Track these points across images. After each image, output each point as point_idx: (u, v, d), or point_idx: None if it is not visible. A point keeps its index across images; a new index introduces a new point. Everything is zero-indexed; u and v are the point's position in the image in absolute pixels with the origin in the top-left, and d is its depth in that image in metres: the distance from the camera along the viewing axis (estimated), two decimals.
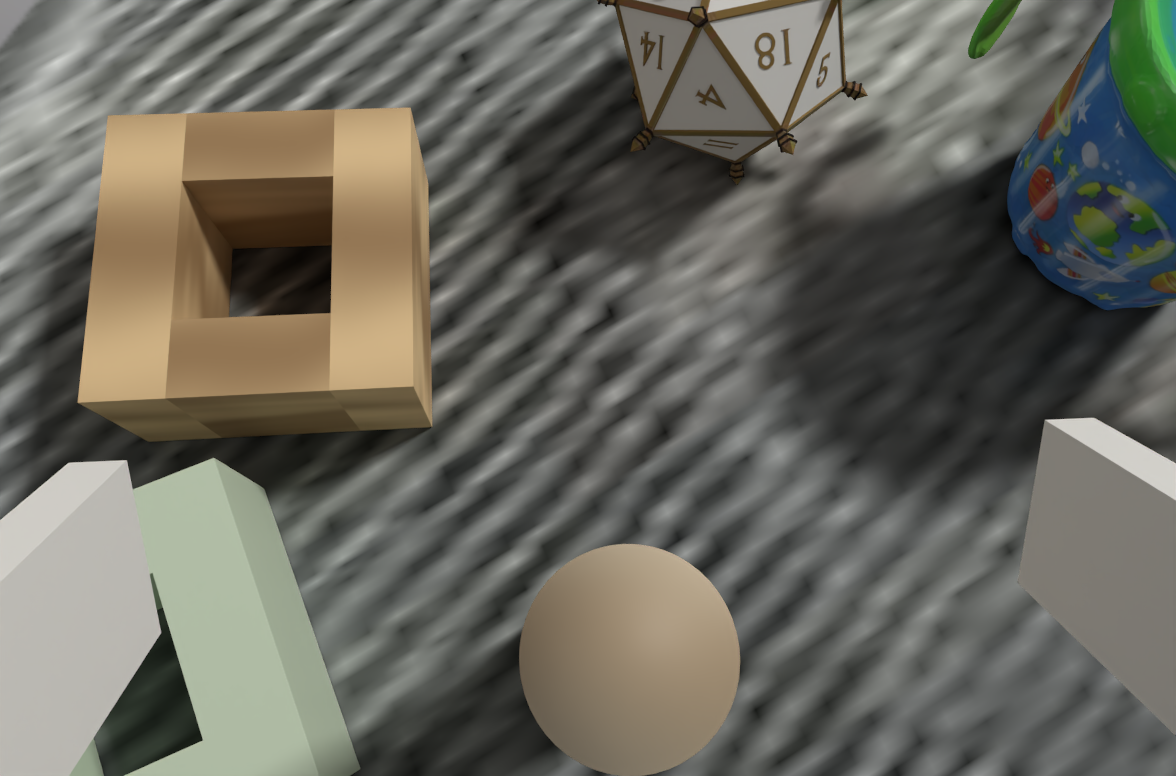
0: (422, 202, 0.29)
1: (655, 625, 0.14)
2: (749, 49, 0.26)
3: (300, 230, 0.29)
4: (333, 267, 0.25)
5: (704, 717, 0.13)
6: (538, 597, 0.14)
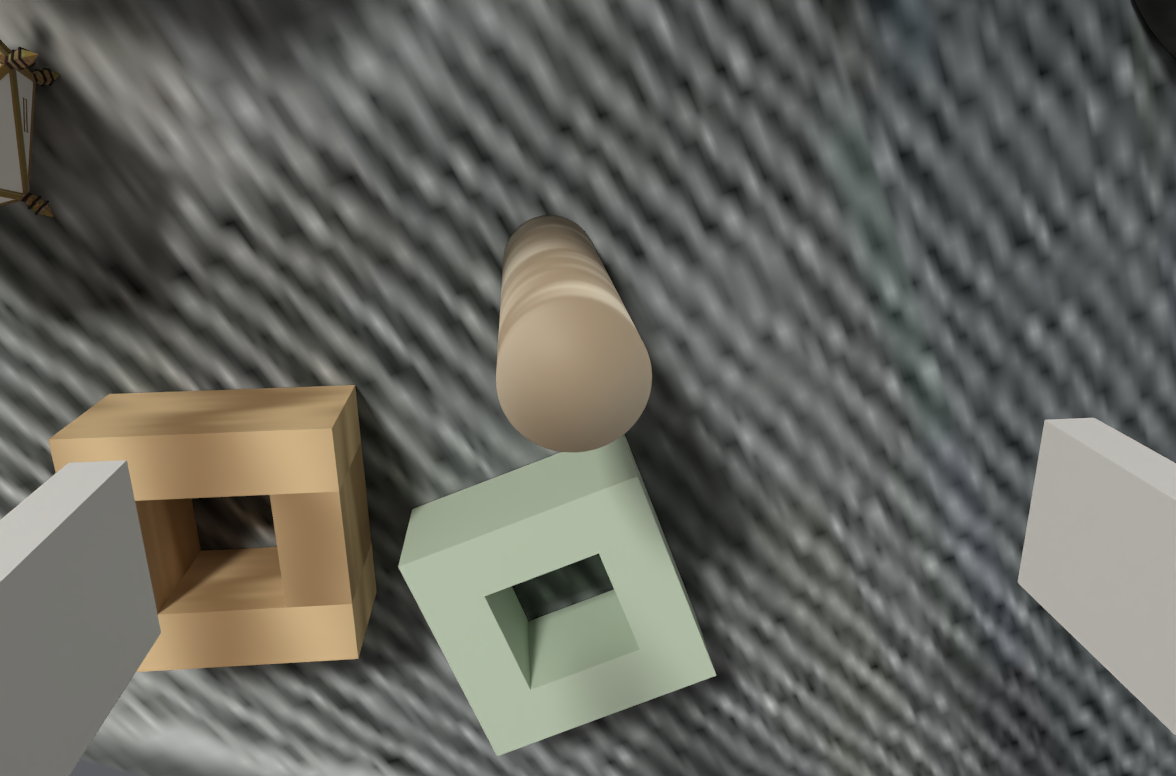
0: (138, 408, 0.31)
1: (555, 362, 0.19)
2: None
3: (179, 505, 0.33)
4: (226, 495, 0.29)
5: (618, 332, 0.19)
6: (532, 439, 0.19)
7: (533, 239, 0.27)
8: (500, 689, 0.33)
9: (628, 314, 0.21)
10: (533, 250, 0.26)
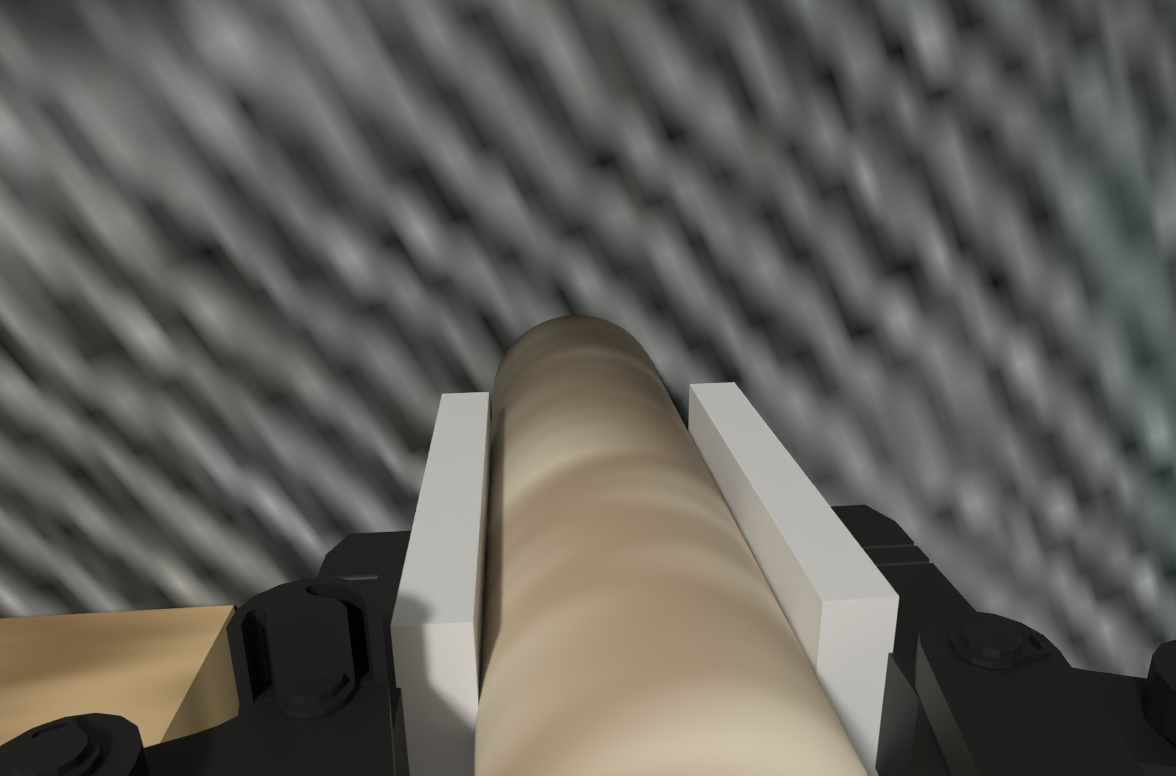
0: None
1: None
2: None
3: None
4: None
5: None
6: None
7: (553, 398, 0.13)
8: None
9: None
10: (557, 448, 0.11)
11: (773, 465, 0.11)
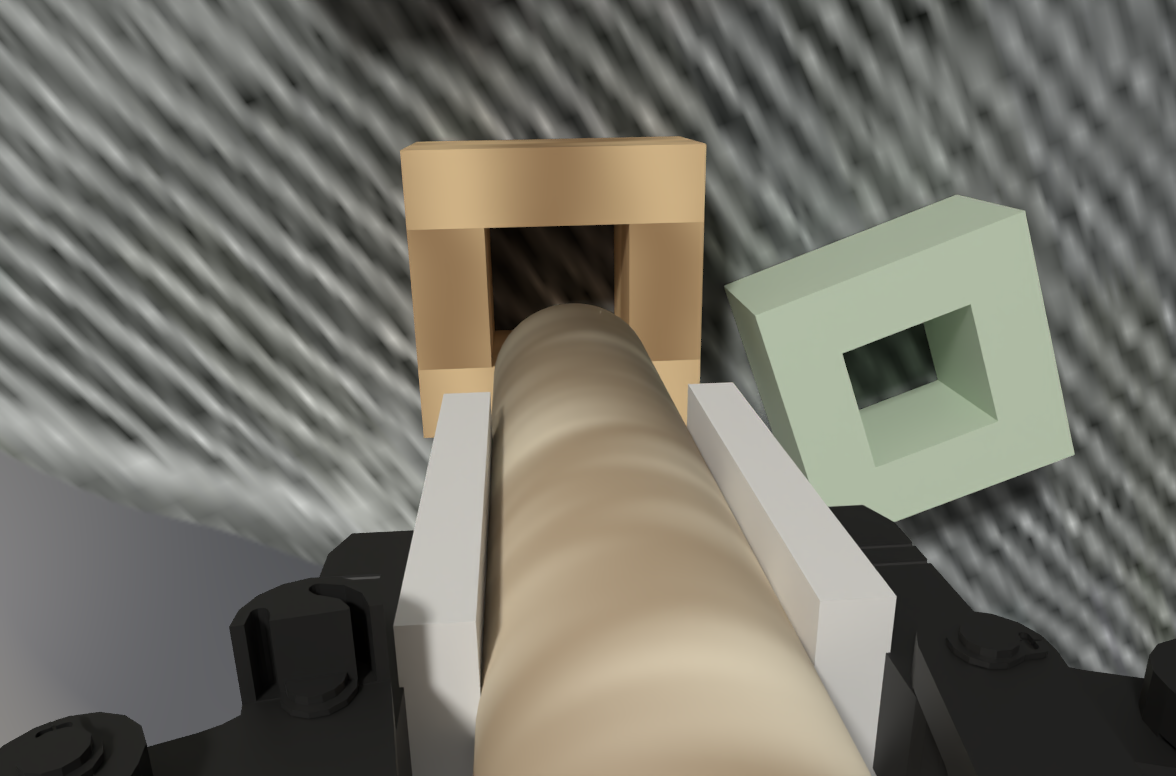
0: (465, 143, 0.28)
1: None
2: None
3: (490, 266, 0.30)
4: (583, 223, 0.26)
5: None
6: None
7: (550, 378, 0.14)
8: (843, 465, 0.30)
9: (830, 699, 0.08)
10: (554, 421, 0.12)
11: (771, 465, 0.11)
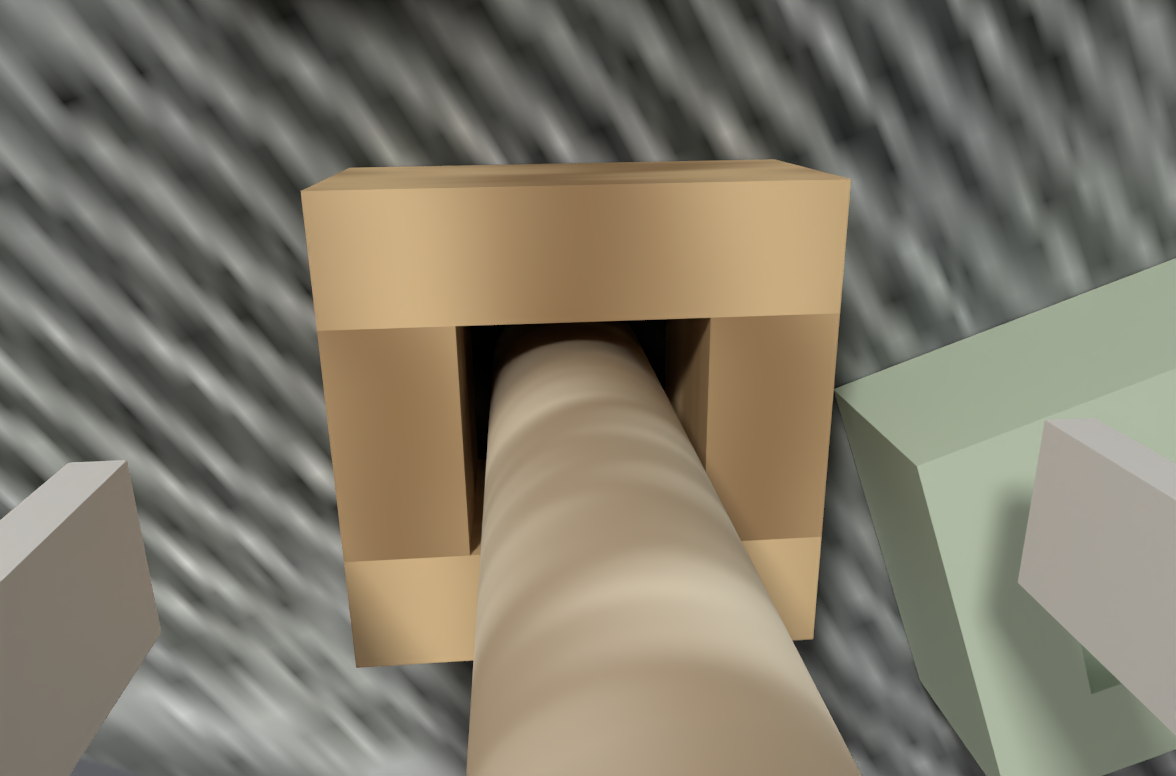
0: (427, 173, 0.17)
1: None
2: None
3: (469, 369, 0.19)
4: (630, 317, 0.15)
5: None
6: None
7: (545, 359, 0.15)
8: (1041, 693, 0.18)
9: (785, 628, 0.09)
10: (547, 396, 0.13)
11: None
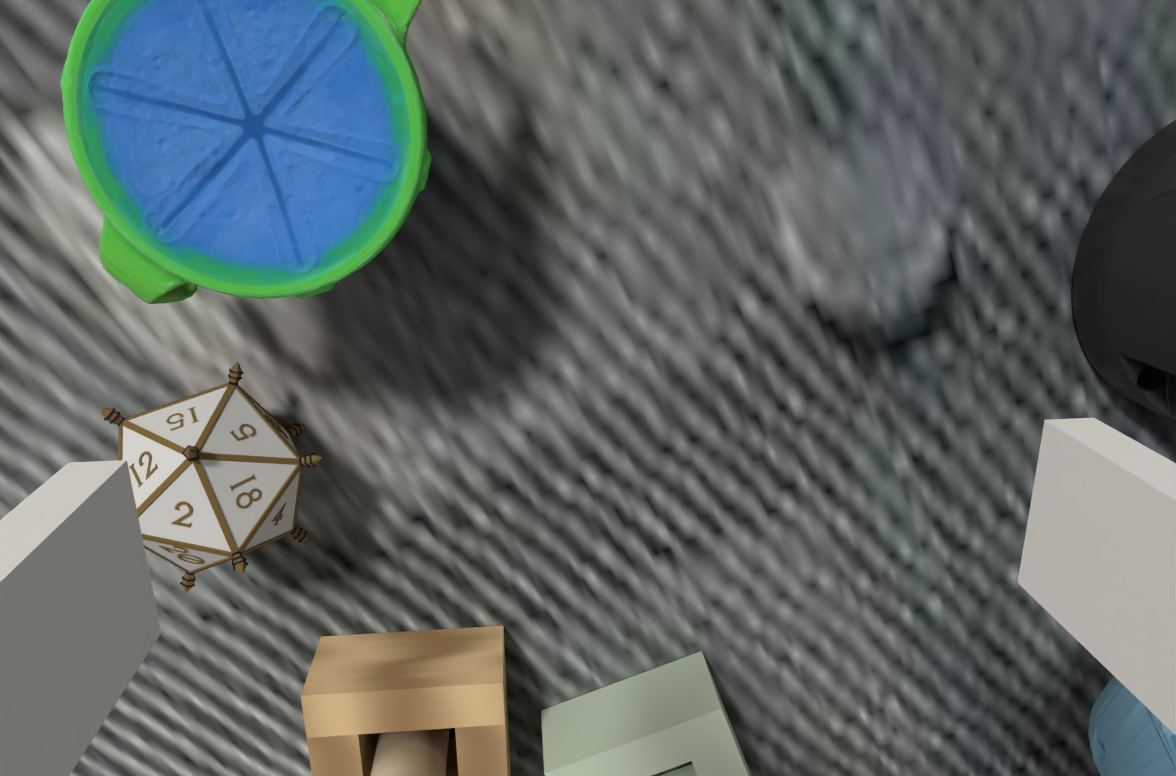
0: (351, 656, 0.42)
1: None
2: (249, 510, 0.34)
3: None
4: (423, 729, 0.40)
5: None
6: None
7: (392, 744, 0.40)
8: None
9: None
10: (385, 775, 0.38)
11: None
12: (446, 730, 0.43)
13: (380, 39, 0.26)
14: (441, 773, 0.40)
